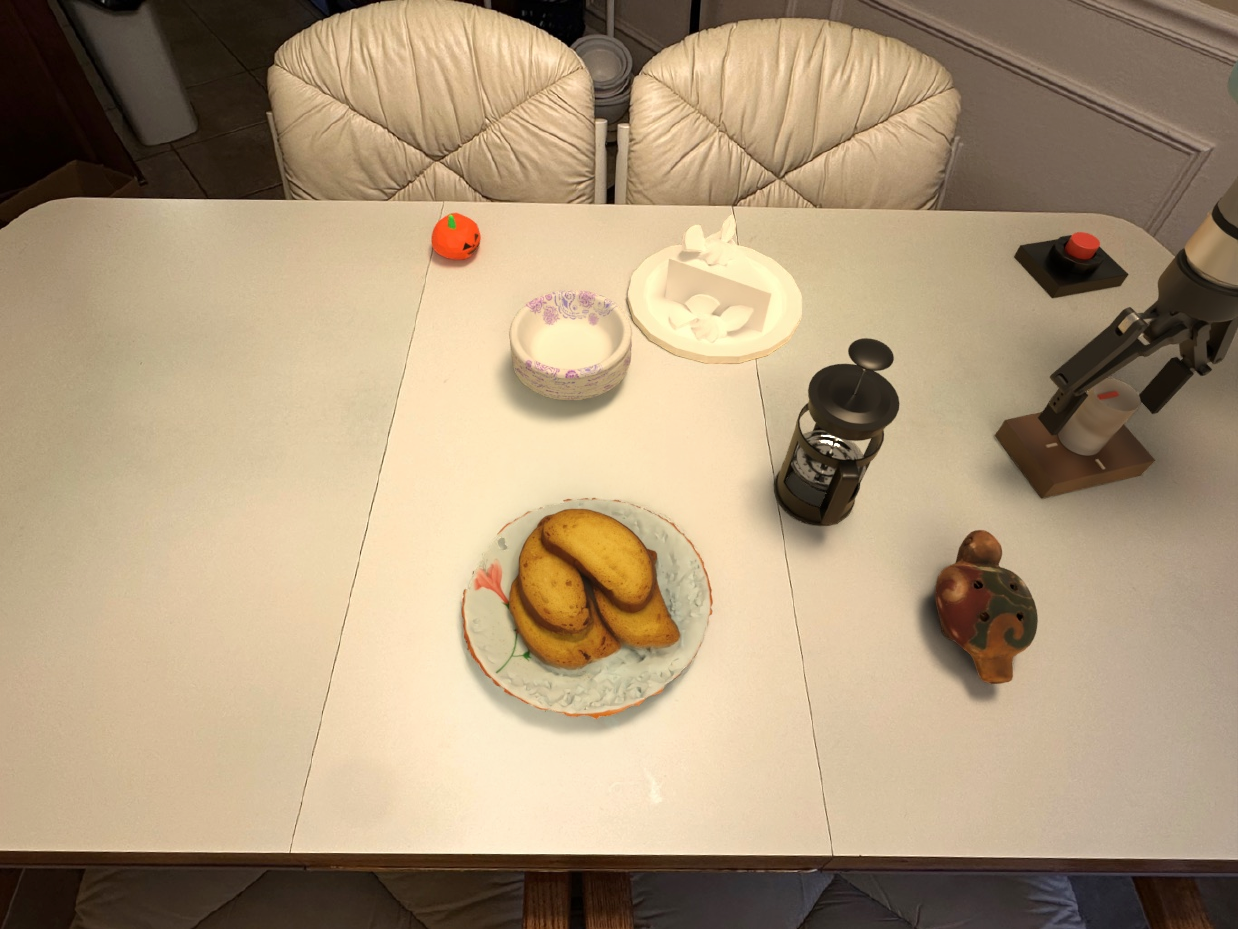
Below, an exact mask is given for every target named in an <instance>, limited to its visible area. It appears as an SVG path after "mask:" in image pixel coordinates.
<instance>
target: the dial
mask: <svg viewBox="0 0 1238 929" xmlns="http://www.w3.org/2000/svg"><path fill="white" fill-rule="evenodd" d="M1086 393H1087V394H1088V397H1087V398H1086V399H1085V400H1084V402H1083V403H1082V404H1081V405H1080V407H1079V408H1078V409H1077V411H1076V412H1075V413H1074V414H1073V416H1072V417H1071V418H1070V419H1069V421H1068V422H1067V423H1066V424H1065V426H1064V427H1063V428H1062V429H1061V431H1060V432H1059V433H1058V437H1059V440H1060V441H1061V443H1062V444H1063V445H1064V446H1065V447H1066V448H1067V449H1069V450H1070V451H1072V452H1074V453H1077V454H1080V455H1086V456H1090V455H1095V454H1097V453H1098V452H1099V451H1100V450H1101V449H1102V448H1103V447H1104V446H1105V445H1106V443H1107V442H1108V441H1109V440H1110V439H1111V438H1112V437H1113V436H1114V434H1115V433H1116V432H1117V431H1118V430H1119V429H1120V428H1121V426H1122V425H1123V424H1124V425H1125V423H1126V422H1127V421H1128V420H1129V419H1130V418H1131V416H1133V414H1134V413H1135V412H1136V410H1138V408H1139V407H1140V405H1141V403H1142V402H1141V401H1140V397H1139V393H1138V392H1137V390H1136V389H1135V388H1133V387H1132V386H1131V385H1130V384H1128V383H1126V382H1124V381H1122V380H1120V379H1116V378H1110V377H1107V378H1106V379H1104V380H1103V381H1101V382H1100V383H1098V384H1097V385H1095V386H1094V387H1092V388H1091V389H1089V390H1088V391H1086Z"/></svg>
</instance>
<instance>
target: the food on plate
mask: <svg viewBox="0 0 1238 929" xmlns="http://www.w3.org/2000/svg"><path fill="white" fill-rule="evenodd" d="M500 538H501V539H504V546H506V547H507V548H506V549H501V548H500V546H499V543H498V542H499V540H500ZM481 555H482V557H481V560H480V561H479V563H478V565H477V567H476V569H475V570H472V579H471V581H470V582H469V586H468V589H466V588H465V589H464V590H463V591H462V596H463V597H462V604H461V605H462V606H461V616H462V619H463V621H462V628H463V638H464V639H465V643H466V644H467V645H466V646H467V651H469V653H470V655H471V657H472V659H473V660H474V661H475V662H476V663H477V665H478V666H479V667H480V669H481V671H482V672H483V673H484V675H485V676H486V677H487V678H489V679H491V681H492V682H493V684H495V686H497V687H500V688H502V689H503V692H504V693H505V694H507V695H509V696H511V697H514V698H516V699H518V700H519V701H521V702H522V703H524V704H526V705H530V706H533V707H534V708H536V709H538V710H543V711H544V712H545V713H548V712H549V711H552V712H555V713H558V714H563V715H565V716H566V717H573V718H577V717H582V716H587V717H591V718H593V719H595V720H598V719H599V718H600V717H601V718H602V717H609V716H613V715H616V714H619V713H622V712H623V711H625V710H626V709H628V708H630V707H632V706H637V707H639V706H640V705H641V704H642V703H643V702H645V701H646V699H647V698H650V697H653V696H655V695H658V694H661V693H663V691H664V688H665V687H666V685H667V684H669V683H670V682H672V681H673V680H675V679H676V678H678V677H679V676H680V675H681V673H682V671H683V670H684V669H685V668H686V667H688V666H690V664H691V663H692V662H693V659H694V658H695V657H696V655H697V652H698V650H699V649H700V647H702V646H701V645H702V643H703V639H704V637H705V633H706V630H707V627H708V626H709V622H710V616H711V615H713V609H712V606H713V605H714V604H713V603H714V600H713V595H712V590H713V589H712V587H711V582H710V579H709V575H708V572H707V570H706V568H705V563H704V561H703V559H702V557H701V555H700V553H699V552H698V551H697V550H696V547H695V545H694V544H693V542H692V541H691V539H689V538H688V537H687V536H686V534H685V533H684V532H683V533H682V531H680V530H679V528H678V527H677V526H676V524H675V523H674V522H671V521H669V520H668V519H667V518H664V517H663V516H661V515H659V514H656V513H654V512H652V511H651V510H649V509H647V508H642V507H641V506H638V505H635V504H632V503H627V502H626V501H621V500H619V499H614V500H613V499H612V500H605V499H600V498H596V497H592V498H591V499H590V498H588V497H585V498H578V499H571V498H566V499H563V500H562V502H559V503H555V504H548V505H545V506H544V507H539V508H537V509H536V510H530V511H527V512H525V513H524V514H523V515H521V516H519V517H517V518H515V519H514V520H513V521H510V522H508V523H506V524H505V525H504V526H503V527H502V528H501V529H500V530H499V532H498V533H497V535H496V537H495V538H494V539H493V540H492V541H491V542H490V543H489V547H488V549H487V550H486V549H485V551H484V552H483V553H482V554H481Z"/></svg>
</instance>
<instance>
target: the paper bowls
mask: <svg viewBox="0 0 1238 929" xmlns="http://www.w3.org/2000/svg"><path fill="white" fill-rule="evenodd" d="M632 329H633V328H632V325H631V322H630V320H629V318H628V315H627V314H626V313H625V311H624V310H623V309H622V308H621V307H620V306H619V305H618V304H617V303H616V302H614V301H613V300H611V299H609V298H608V297H605V296H603V295H601V294H599V293H595V292H592V291H587V290H580V289H579V290H576V289H570V290H569V289H565V290H557V291H552V292H548V293H545V294H542V295H539V296H537V297H535V298H534V299H531V300H530V301H529V302H527V303H526V304H525V305H523V306H522V307H521V308H520V309H519V310H518V312H517V313H516V314H515V316H514V317H513V319H512V321H511V323H510V327H509V331H508V332H509V333H508V337H509V346H510V353H511V362H512V366H513V369H514V373H515V375H516V376H517V378H518V379H519V381H520V382H521V383H522V384H523V385H524V386H526V387H527V388H528V389H530V390H531V391H532V392H534V393H536V394H538V395H541V396H543V397H546V398H550V399H552V400H553V399H554V400H558V401H559V400H561V401H580V400H585V399H590V398H595V397H598V396H600V395H603V394H605V393H608V391H610V390H612V389H613V388H615V387H617V386H618V385H619V383H621V381H622V380H623V379H624V378H625V376H626V374H627V372H628V371H629V369H630V366H631V361H632V347H633V342H632V341H633V339H632V338H633V331H632Z"/></svg>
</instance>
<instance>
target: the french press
mask: <svg viewBox="0 0 1238 929" xmlns="http://www.w3.org/2000/svg"><path fill="white" fill-rule="evenodd" d="M847 353H848V357H849V358H850V360H851V361H852V362H853V363H835V364H831V365H828V366H826V367H823V368H821V369H819V370H818V371H817V372H816V373H815V374H814V375H813V376H812V377H811V379H810V381H809V384H808V387H807V398H808V402H807V403H805V405H804V406H803V407H802V408H801V409H800V411H799V414H798V417H797V419H796V421H795V422H796V423H795V428H794V430H793V433H792V437H791V439H790V442H789V445H788V448H787V451H786V455H785V457H784V460H783V461H782V464H781V467H780V470H779V471H778V472H777V474H776V476H775V478H774V483H773V492H774V496H775V499H776V501H777V502H778V505H779V506H780V507H781V508H782V510H783V511H784V512H785V513H786V514H788V516H790V517H791V518H792V519H795V520H796V521H798V522H800V521H801V522H800V523H803V524H806V525H810V526H816V527H825V526H826V527H827V526H832V525H838V523H840V522H842V521H843V520H844V519H846V518H847V517H848V516H849V515H850V514H851V512H852V511H853V508H854V506H855V503H856V498H857V496H858V493H859V491H860V489H861V483H862V481H863V479H864V476H865V474H866V473H867V470H868V469H869V466H870V465H871V463H872V461H873V460H875V458H876V457H877V455H878V454H879V452H880V450H881V447H882V446H883V444H884V440H885V429H886V428H887V427H888V426H889V425H891V424H892V423H893V421H894V420H895V419H896V418H897V416H898V413H899V411H900V405H901V404H900V397H899V395H898V392H897V390H896V388H895V387H894V386H893V384H892V383H891V382H890V381H889V380H888V379H887V378H886V377H884V376H883V375H882V374H880V373H879V372H880V371H884V370H887V369H889V368H890V367H891V366H892V365H893V363H894V361H895V356H894V353H893V350H892V349H891V348H890V347H889V346H888V345H887V344H886V343H884V342H882V341H880V340H878V339H874V338H868V337H865V338H858V339H856V340H854V341H852V342H851V343H850V344H849V346H848V349H847ZM807 412H809V415H810V417H811V418H812V420H813V422H814V426H813V429H812V430H810V431H806V432H804V433H803V431H802V429H801V421H800V420H801V419H802V417H803V416H804V415H805V413H807ZM866 440H869V441H868V445H867V447H866V449H865V451H864V453H863V451H862V450H861V449H860V447H859V446H858V445H857V444H856V443H855V442H856V441H857V442H859V441H860V442H861V441H866ZM793 473H794V474H795V475H796V476H797V478H798V479H799V480H800V481H801V482H803V484H806V485H807V486H809V487H810V488H811V489H815V490H817V491H820V492H823V493H824V495H823V498H822V500H821V502H820V504H819V506H818V505H815V504H811V503H809V502H807V501H804V500H802V498H799V497H798V496H797V495H796V494H795V493H794V492H793V491H792V490H791V489H790V488H789V487H788V484H787V481H788V479H789V477H790V476H791V475H792V474H793Z"/></svg>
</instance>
